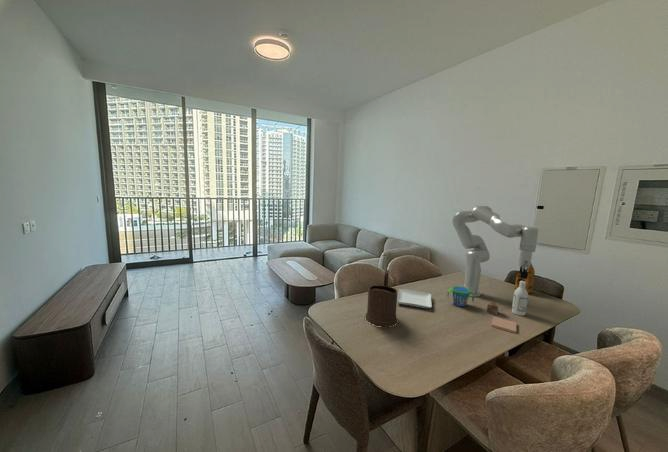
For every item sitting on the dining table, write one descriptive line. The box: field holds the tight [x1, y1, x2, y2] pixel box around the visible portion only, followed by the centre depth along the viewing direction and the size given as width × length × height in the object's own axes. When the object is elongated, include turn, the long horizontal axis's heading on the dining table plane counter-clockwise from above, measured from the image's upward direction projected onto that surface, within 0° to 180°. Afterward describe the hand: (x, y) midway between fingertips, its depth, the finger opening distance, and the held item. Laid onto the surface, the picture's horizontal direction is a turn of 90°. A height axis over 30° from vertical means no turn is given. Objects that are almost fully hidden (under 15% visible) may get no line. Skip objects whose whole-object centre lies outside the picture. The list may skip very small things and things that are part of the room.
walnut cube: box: [486, 300, 500, 316], centre depth 157 cm, size 6×6×6 cm
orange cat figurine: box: [514, 263, 536, 294], centre depth 190 cm, size 10×12×22 cm
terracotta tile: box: [491, 316, 517, 334], centre depth 142 cm, size 11×11×1 cm
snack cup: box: [446, 285, 475, 308], centre depth 166 cm, size 16×10×10 cm
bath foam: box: [511, 281, 529, 316], centre depth 156 cm, size 7×7×20 cm
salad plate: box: [397, 288, 433, 309], centre depth 169 cm, size 21×21×3 cm
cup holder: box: [364, 269, 398, 328], centre depth 146 cm, size 18×24×25 cm
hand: (523, 275), depth 155 cm, fingers open, 9 cm apart
